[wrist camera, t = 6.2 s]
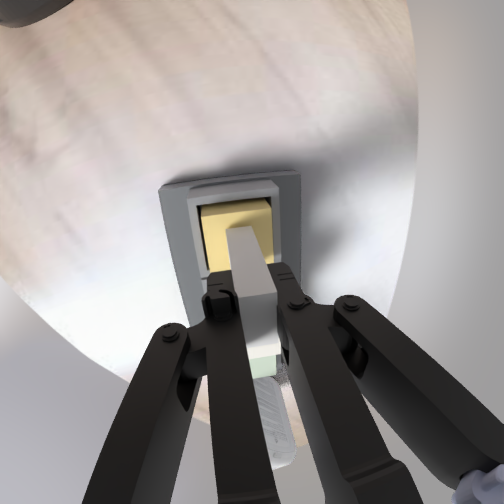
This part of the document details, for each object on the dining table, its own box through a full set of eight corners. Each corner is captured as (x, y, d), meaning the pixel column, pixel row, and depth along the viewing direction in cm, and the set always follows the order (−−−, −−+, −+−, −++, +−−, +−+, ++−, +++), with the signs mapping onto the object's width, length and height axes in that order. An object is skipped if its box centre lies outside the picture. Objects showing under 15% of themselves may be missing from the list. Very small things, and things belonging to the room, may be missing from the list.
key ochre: (202, 201, 18) (200, 217, 15) (261, 194, 18) (271, 208, 15) (210, 254, 20) (211, 277, 17) (265, 247, 20) (274, 268, 17)
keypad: (161, 185, 19) (151, 201, 16) (294, 170, 20) (312, 181, 16) (201, 352, 27) (202, 381, 24) (293, 338, 28) (304, 365, 25)
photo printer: (201, 363, 28) (206, 465, 17) (229, 345, 27) (245, 453, 17) (256, 395, 33) (274, 477, 22) (283, 381, 32) (308, 465, 21)
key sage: (223, 329, 23) (226, 354, 21) (268, 322, 24) (275, 346, 21) (229, 357, 25) (232, 381, 23) (270, 351, 26) (276, 374, 23)
